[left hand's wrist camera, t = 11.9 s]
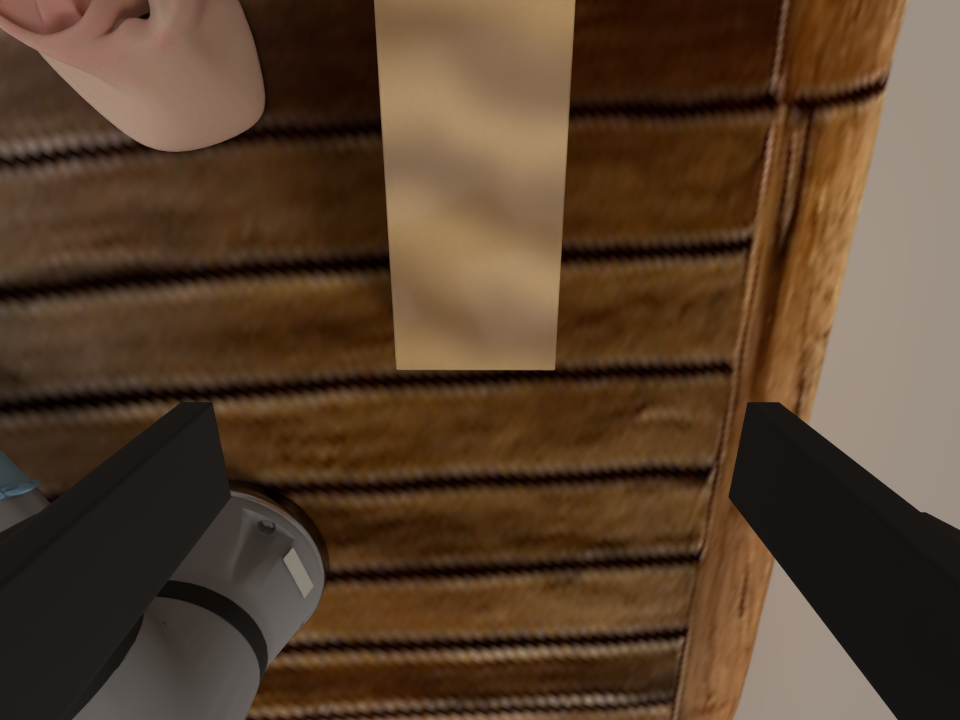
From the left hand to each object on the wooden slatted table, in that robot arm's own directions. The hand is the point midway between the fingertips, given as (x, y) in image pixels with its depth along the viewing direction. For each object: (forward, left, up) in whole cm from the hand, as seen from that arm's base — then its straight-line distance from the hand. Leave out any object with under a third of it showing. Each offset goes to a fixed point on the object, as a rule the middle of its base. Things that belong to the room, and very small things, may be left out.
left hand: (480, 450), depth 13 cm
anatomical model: (-18, +16, -23) cm, 33 cm away
